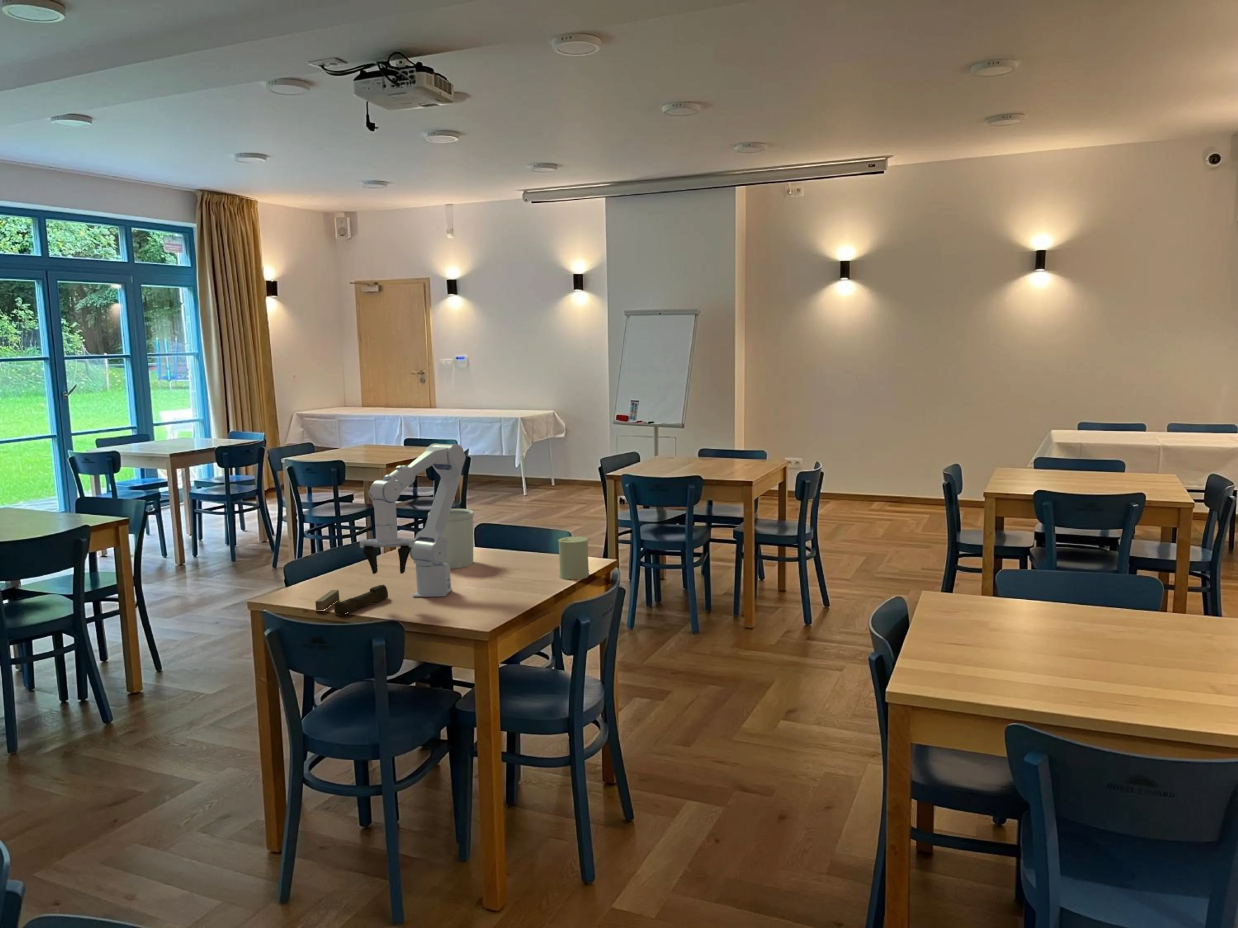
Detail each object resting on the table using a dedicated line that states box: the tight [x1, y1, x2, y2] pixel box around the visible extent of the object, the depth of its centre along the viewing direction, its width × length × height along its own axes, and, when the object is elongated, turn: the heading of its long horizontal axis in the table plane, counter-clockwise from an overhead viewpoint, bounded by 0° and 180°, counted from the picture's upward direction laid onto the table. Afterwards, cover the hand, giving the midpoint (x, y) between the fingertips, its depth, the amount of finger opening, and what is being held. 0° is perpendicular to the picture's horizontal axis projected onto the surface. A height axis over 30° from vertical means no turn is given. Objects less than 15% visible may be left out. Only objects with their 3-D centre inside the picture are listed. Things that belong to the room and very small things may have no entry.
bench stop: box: [314, 589, 340, 611], centre depth 248 cm, size 2×12×3 cm, turn 177°
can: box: [557, 536, 590, 580], centre depth 275 cm, size 9×9×12 cm
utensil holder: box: [427, 508, 475, 570], centre depth 294 cm, size 15×15×18 cm
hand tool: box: [333, 584, 389, 617], centre depth 246 cm, size 19×4×5 cm, turn 150°
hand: (388, 572), depth 245 cm, fingers open, 7 cm apart
